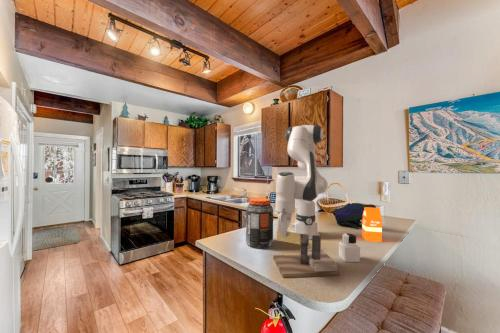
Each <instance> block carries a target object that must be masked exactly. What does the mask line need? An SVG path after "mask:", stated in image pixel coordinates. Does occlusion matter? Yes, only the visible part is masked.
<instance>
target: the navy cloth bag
mask: <svg viewBox="0 0 500 333" xmlns="http://www.w3.org/2000/svg"><path fill="white" fill-rule="evenodd" d="M365 207H370V208H377V205H374V204H373V203H372V204H371V203H370V204H363V203H359V202H352V203H350V202H348V203H347V204H345V205H344V206H342V207H339V208H336V209H334V210H332V215H333V216H334V218H335V222H336V224H337V225H346V226H350V227H352V228H355V229H356V230H359V228H362V224H363V212H364V208H365Z"/></svg>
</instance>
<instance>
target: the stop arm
mask: <svg viewBox="0 0 500 333" xmlns="http://www.w3.org/2000/svg"><path fill="white" fill-rule="evenodd" d="M276 241H279V242H284V243H285V242H286V243H290V244H295V245H300V246H301V245H303V246H309V245H310V242H309V241H310V240H309V235H307V234H300V233H294V232H290V231H288V230H287V237H286V239H284V238H282V233H279V232H278V230H277V231H276Z"/></svg>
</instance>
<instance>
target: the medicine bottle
mask: <svg viewBox="0 0 500 333" xmlns="http://www.w3.org/2000/svg"><path fill="white" fill-rule="evenodd" d="M338 257H340V259H342V260H343V262H345V263H361V247H360V246H359V245H357V236H356V235H354V234H352V233H348V232H347V233H343V234H342V242H341V241H340V242H338Z"/></svg>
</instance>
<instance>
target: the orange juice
mask: <svg viewBox="0 0 500 333" xmlns="http://www.w3.org/2000/svg"><path fill="white" fill-rule="evenodd" d="M361 225H362V227H361V229H362V232H361V234H362V236H361V237H362V238H363V239H364V240H365V242H366V241H367V242H378V243H382V240H383V238H382V237H383V234H382V233H383V216H382V213H381V208H380V207H376V208H370V207H365V208H364V212H363V219H362V223H361Z"/></svg>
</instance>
